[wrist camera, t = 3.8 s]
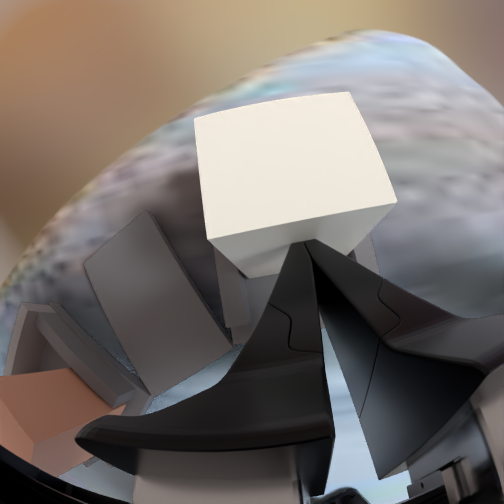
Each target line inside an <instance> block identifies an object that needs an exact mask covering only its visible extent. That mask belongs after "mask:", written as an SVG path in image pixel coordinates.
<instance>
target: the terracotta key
mask: <svg viewBox="0 0 504 504" xmlns="http://www.w3.org/2000/svg"><path fill="white" fill-rule="evenodd" d="M125 406H126V404H125V403H123V404H121V405H118V406H116V407H114V408H113V407H111V406H110V405H109V404H108V403H107V402H106V401H105V400H104V399H102V398H101V397H100V396H99V395H98V394H97V393H96V392H95V391H94V390H93V389H92V388H91V387H90V386H89V385H88V384H87V383H86V382H85V381H84V380H83V379H82V378H81V377H80V376H79V375H78V374H77V373H76V372H75V371H74V370H73V369H72V368H71V367H70V368H64V369H57V370H51V371H44V372H36V373H29V374H20V375H11V376H1V377H0V445H2V446H3V447H5V448H6V449H8V450H9V451H11V452H12V453H14V454H15V455H17V456H18V457H20V458H22V459H23V460H25V461H27V462H29V463H30V464H32V465H34V466H36V467H37V468H39V469H41V470H43V471H44V472H46V473H48V474H50V475H52V476H54V477H58V476H59V475H61V474H63V473H65V472H67V471H69V470H70V469H72V468H74V467H76V466H78V465H79V464H81V463H83V462H85V461H86V460H88V459H90V458H91V457H93V456H94V455H92V454H90V453H88V452H87V451H85V450H84V449H82V448H81V447H80V446H78V445H77V444H76V442H75V440H74V438H75V436H76V435H77V433H78V432H79V431H80V430H81V428H83V427H84V426H85V425H86V424H88V423H89V422H91V421H93V420H95V419H97V418H99V417H101V416H104V415H121V414H122V412H123V410H124V408H125Z"/></svg>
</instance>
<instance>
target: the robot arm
mask: <svg viewBox="0 0 504 504" xmlns="http://www.w3.org/2000/svg"><path fill="white" fill-rule="evenodd" d="M319 313H320V315H321V318H322V320H323V323H324V325H325V328H326V331H327V333H328V336H329V338H330V341H331V344H332V346H333V349H334V351H335V354H336V357H337V359H338V362H339V365H340V367H341V370H342V373H343V376H344V378H345V381H346V384H347V387H348V389H349V392H350V395H351V398H352V401H353V403H354V406H355V409H356V412H357V415H358V418H359V419H360V420H359V421H360V424H361V427H362V430H363V433H364V436H365V439H366V442H367V445H368V448H369V451H370V454H371V457H372V461H373V464H374V467H375V470H376V473H377V477H378V480H381V479H384V478H387V477H390V476H393V475H395V474H398V473H401V472H403V471H406V470H408V471H409V475H410V479H411V483H412V484H411V485H409V486H407V491H408V496H409V499H407V500H404V501H402V502H399V503H396V504H504V314H500V315H494V316H488V317H481V318H473V319H472V318H462V317H459V316H456V315H454V314H451V313H449V312H447V311H445V310H443V309H441V308H439V307H437V306H435V305H433V304H431V303H429V302H427V301H425V300H423V299H421V298H419V297H417V296H415V295H413V294H411V293H409V292H407V291H405V290H403V289H402V288H400V287H398V286H397V285H395V284H393V283H391V282H390V281H388V280H386V279H383V277H381V276H380V275H378V274H376V273H375V272H373V271H371V270H369V269H368V268H366V267H364V266H363V265H361V264H359V263H358V262H356V261H354V260H352V259H351V258H349V257H347V256H345V255H344V254H342V253H340V252H338V251H337V250H335V249H333V248H331V247H330V246H328V245H326V244H324V243H322V242H321V241H319V240H317V239H311V240H306V241H304V243H303V242H302V241H301V242H296V243H291V245H290V247H289V249H288V252H287V255H286V257H285V260H284V262H283V265H282V267H281V270H280V272H279V275H278V277H277V280H276V282H275V285H274V287H273V290H272V292H271V295H270V297H269V299H268V302H267V305H266V306H265V309H264V311H263V314H262V316H261V318H260V320H259V322H258V324H257V326H256V328H255V330H254V331H253V333H252V335H251V337H250V338H249V340H248V341H247V343H246V345H245V346H244V348H243V349H242V351H241V352H240V354H239V356H238V357H237V359H236V360H235V362H234V363H233V365H232V366H231V368H230V369H229V371H228V372H227V374H226V375H225V376H224V377H223V378H222V379H221V380H220V381H219V382H218V383H217V384H216V385H214V386H212V387H211V388H209V389H206V390H204V391H202V392H200V393H198V394H196V395H194V396H192V397H190V398H187V399H185V400H183V401H181V402H178V403H176V404H174V405H172V406H169V407H167V408H165V409H162V410H160V411H157V412H154V413H150V414H146V415H140V416H121V415H104V416H101V417H99V418H97V419H95V420H93V421H91V422H89V423H88V424H86V425H85V426H84V427H83V428H81V430H80V431H79V432H78V433H77V435H76V436H75V438H74V440H75V442H76V444H77V445H78V446H80V447H81V448H82V449H84V450H85V451H87V452H88V453H90V454H92V455H94V456H95V457H97V458H99V459H101V460H103V461H105V462H107V463H109V464H111V465H113V466H115V467H117V468H119V469H121V470H123V471H125V472H127V473H129V474H132V475H134V476H135V480H134V488H133V497H132V503H129V502H125V501H121V500H118V499H114V498H110V497H107V496H104V495H100V494H97V493H94V492H91V491H88V490H85V489H83V488H80V487H77V486H75V485H72V484H70V483H67V482H65V481H63V480H61V479H59V478H56V477H54V476H52V475H50V474H48V473H46V472H44V471H43V470H41V469H39V468H37V467H36V466H34V465H32V464H30V463H29V462H27V461H25V460H23V459H22V458H20V457H18V456H17V455H15V454H14V453H12V452H11V451H9V450H8V449H6V448H5V447H3V446H2V445H0V504H311V503H310V497H314V496H319V495H324V492H325V488H326V483H327V479H328V474H329V469H330V464H331V459H332V454H333V448H334V442H335V427H334V421H333V414H332V408H331V402H330V395H329V389H328V384H327V378H326V372H325V363H324V353H323V343H322V333H321V324H320V316H319ZM351 494H353V495H352V496H349V495H351ZM322 504H370V503H369V502H368V501H367V500H366V499H365V498H364V497H363V496H362V495H361V494H360V493H359V491H358V490H356V489H349V490H347V491H345V492H343V493H341V494H340V495H338V496H336V497H334V498H332V499H330V500H328V501H326V502H324V503H322Z"/></svg>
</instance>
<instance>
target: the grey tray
mask: <svg viewBox="0 0 504 504" xmlns="http://www.w3.org/2000/svg"><path fill="white" fill-rule="evenodd" d="M196 150H197V146H196ZM197 160H198V156H197ZM213 250H214V257H215V264H216V270H217V277H218V283H219V290H220V296H221V302H222V308H223V314H224V320H225V325H226V328H229V327H230V328H231V334H232V339H233V341H232V339H231V338H230V336H229V335H228V334H227V332H226V331H225V329H224V328H223V326H222V325H221V323H220V322H219V320H218V319H217V317H216V316H215V314H214V313H213V311H212V310H211V308H210V307H209V305H208V304H207V302H206V301H205V299H204V298H203V296H202V295H201V293H200V292H199V290H198V288H197V287H196V285H195V284H194V282H193V281H192V279H191V277H190V276H189V274H188V273H187V271H186V269H185V268H184V266H183V265H182V263H181V261H180V260H179V258H178V256H177V255H176V253H175V251H174V250H173V248H172V246H171V245H170V243H169V241H168V240H167V238H166V236H165V235H164V233H163V231H162V229H161V228H160V226H159V224H158V223H157V221H156V219H155V217H154V216H153V214H151V213H150V212H149V211H147V210H146V211H144V212H143V213H142V214H141V215H139V216H138V217H137V218H136V219H134V220H133V221H132V222H131V223H129V224H128V225H127V226H126V227H125V228H123V229H122V230H121V231H120V232H119V233H118V234H116V235H115V236H114V237H113V238H112V239H111V240H109V241H108V242H107V243H106V244H105V245H104V246H103V247H101V248H100V249H99V250H98V251H97V252H96V253H95V254H94V255H93V256H91V257H90V258H89V259H88V260H87V261H86V262H85V263H84V267H85V269H86V272H87V274H88V277H89V279H90V281H91V284H92V286H93V288H94V291H95V293H96V295H97V297H98V300H99V302H100V304H101V306H102V308H103V310H104V313H105V315H106V317H107V319H108V321H109V323H110V325H111V327H112V329H113V331H114V333H115V334H116V336H117V338H118V340H119V342H120V344H121V346H122V347H123V349H124V351H125V353H126V355H127V356H128V358H129V360H130V362H131V363H132V365H133V367H134V368H135V370H136V372H137V373H138V375H139V377H140V378H141V380H142V381H141V380H140V379H139V378H138V377H136V376H135V375H134V374H133V373H131V372H130V371H129V370H128V369H127V368H125V367H124V366H123V365H122V364H121V363H119V362H118V361H117V360H116V359H115V358H114V357H112V356H111V355H110V354H109V353H108V352H107V351H106V350H105V349H104V348H102V347H101V346H100V345H99V344H98V343H97V342H96V341H95V340H94V339H93V338H92V337H91V336H90V335H89V334H88V333H87V332H86V331H85V330H84V329H83V328H82V327H81V326H80V325H79V324H78V323H77V322H76V321H75V320H74V319H73V318H72V317H71V316H70V315H69V314H68V313H67V312H66V311H65V310H64V309H63V307H62V306H61V305H60V304H59V303H56V302H49V305H42V304H34V303H26V302H21V305H20V308H19V312H18V315H17V318H16V322H15V325H14V329H13V333H12V337H11V341H10V345H9V349H8V354H7V358H6V363H5V369H4V374H3V376H11V375H20V374H29V373H36V372H44V371H51V370H57V369H64V368H70V367H71V368H72V369H73V370H74V371H75V372H76V373H77V374H78V375H79V376H80V377H81V378H82V379H83V380H84V381H85V382H86V383H87V384H88V385H89V386H90V387H91V388H92V389H93V390H94V391H95V392H96V393H97V394H98V395H99V396H100V397H101V398H102V399H104V400H105V401H106V402H107V403H108V404H109V405H110V406H111V407H113V408H114V407H116V406H118V405H121V404H123V403H125V404H126V406H125V408H124V410H123V412H122V414H121V416H140V415H145V413H146V411H147V410H148V408H149V406H150V404H151V402H152V400H153V399H154V397H156V396H158V395H159V394H161V393H163V392H165V391H166V390H168V389H170V388H171V387H173V386H175V385H177V384H178V383H180V382H182V381H183V380H185V379H187V378H188V377H190V376H192V375H193V374H195V373H196V372H198V371H200V370H201V369H203V368H205V367H206V366H208V365H209V364H211V363H213V362H214V361H216V360H217V359H219V358H220V357H222V356H224V355H225V354H227V353H228V352H230V351H231V350H233V349H234V348H236V347H237V346H236V345H235V344H242V343H247V341H248V340H249V338H250V337H251V335H252V333H253V331H254V330H255V328H256V326H257V324H258V322H259V320H260V318H261V316H262V314H263V311H264V309H265V306H266V305H267V302H268V299H269V297H270V295H271V292H272V290H273V287H274V285H275V282H276V280H277V277H278V275H279V273H277V274H272V275H267V276H262V277H257V278H252V279H249V278H248V277H247V276H246V275H245V274H244V273H243V272H242V271H240V270H239V269H238V268H237V267H236V266H235V265H234V264H233V263H232V262H231V261H230V260H229V259H228V258H226V257H225V256H224V255H223V254H222V253H221V252H220V251H219V250H218V249H217V248H216V247H215V246H214V245H213ZM347 257H349V258H351V259H352V260H354V261H356V262H358V263H359V264H361V265H363V266H364V267H366V268H368V269H369V270H371V271H373V272H375V273H376V274H378V275H380V272H379V268H378V264H377V260H376V256H375V252H374V248H373V244H372V240H371V237H370V233H368V234H367V235H366V236H365V238H364V239H363V240H362V241H361V242H360V243H359V244H358V245H357V246H356V247H355V248H354V249H353V250H352V251H351V252H350V253H349V254H348V255H347ZM319 316H320V324H321V329H322V328H325V325H324V323H323V320H322V318H321V315H320V313H319ZM98 460H99V458H97V457H95V456H93V457H91V458H90V459H88V460H86V461H85V462H83V464H84V465H85V466H86V467H88V466H90V465H91V464H93V463H95V462H96V461H98ZM106 463H107V462H106ZM107 464H108V465H109V466H111V467H114V466H113V465H111V464H109V463H107Z"/></svg>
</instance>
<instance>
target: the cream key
mask: <svg viewBox="0 0 504 504" xmlns="http://www.w3.org/2000/svg"><path fill="white" fill-rule="evenodd" d="M194 124H195V136H196V146H197V156H198V166H199V175H200V184H201V193H202V202H203V210H204V218H205V225H206V233H207V240H208V241H209V242H210V243H212V244H213V245H214V246H215V247H216V248H217V249H218V250H219V251H220V252H221V253H222V254H223V255H224V256H225V257H226V258H228V259H229V260H230V261H231V262H232V263H233V264H234V265H235V266H236V267H237V268H238V269H239V270H240V271H242V272H243V273H244V274H245V275H246V276H247V277H248V278H249V279H252V278H257V277H262V276H267V275H272V274H277V273H279V272H280V270H281V267H282V265H283V262H284V260H285V257H286V255H287V252H288V249H289V247H290V245H291V243H296V242H301V241H302V242H303V243H304V241H306V240H311V239H317V240H319V241H321V242H322V243H324V244H326V245H328V246H330V247H331V248H333V249H335V250H337V251H338V252H340V253H342V254H344V255H345V256H347V255H348V254H349V253H350V252H351V251H352V250H353V249H354V248H355V247H356V246H357V245H358V244H359V243H360V242H361V241H362V240H363V239H364V238H365V236H366V235H367V234H368V233H369V232H370V231H371V230H372V229H373V228H374V227H375V226H376V225H377V224H378V223H379V222H380V221H381V220H382V219H383V218H384V217H385V216H386V214H387V213H388V212H389V211H390V210H391V209H392V208H393V207H394V206H395V205H396V204H397V199H396V196H395V193H394V191H393V188H392V185H391V183H390V180H389V177H388V175H387V172H386V170H385V167H384V165H383V162H382V160H381V157H380V155H379V153H378V150H377V148H376V146H375V144H374V141H373V139H372V137H371V135H370V133H369V130H368V128H367V126H366V124H365V122H364V120H363V118H362V116H361V114H360V112H359V110H358V108H357V106H356V104H355V102H354V101H353V99H352V97H351V95H350V93H349V92H339V93H327V94H317V95H308V96H300V97H293V98H286V99H280V100H274V101H268V102H262V103H257V104H252V105H247V106H242V107H238V108H233V109H229V110H225V111H220V112H216V113H212V114H209V115H205V116H201V117H197V118H194Z"/></svg>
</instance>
